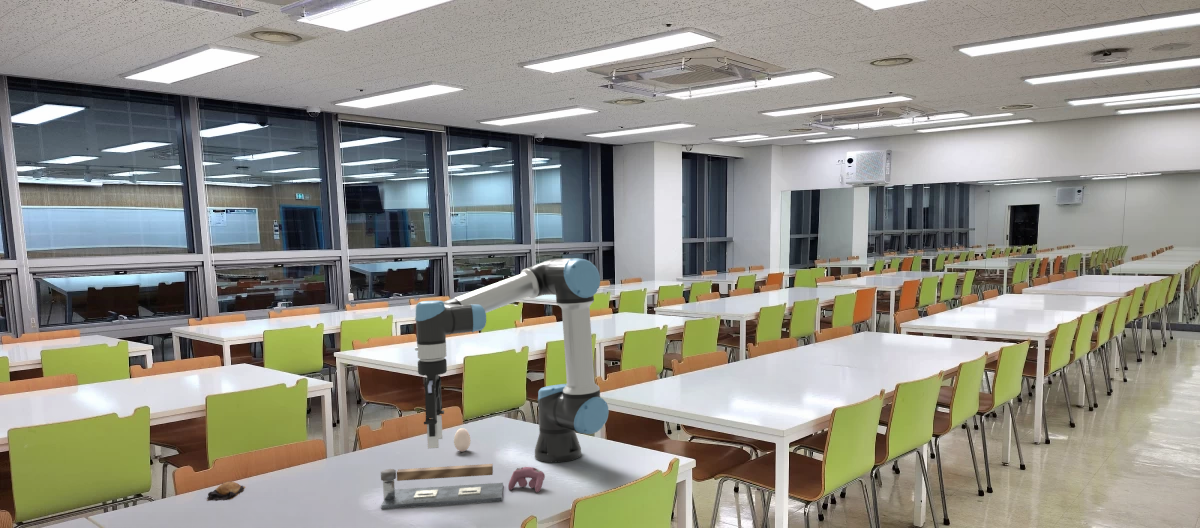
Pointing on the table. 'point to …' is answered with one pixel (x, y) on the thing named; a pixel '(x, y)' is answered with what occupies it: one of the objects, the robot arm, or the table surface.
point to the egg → (462, 440)
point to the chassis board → (440, 495)
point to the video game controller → (527, 472)
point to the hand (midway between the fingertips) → (435, 443)
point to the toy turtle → (225, 491)
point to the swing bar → (437, 472)
